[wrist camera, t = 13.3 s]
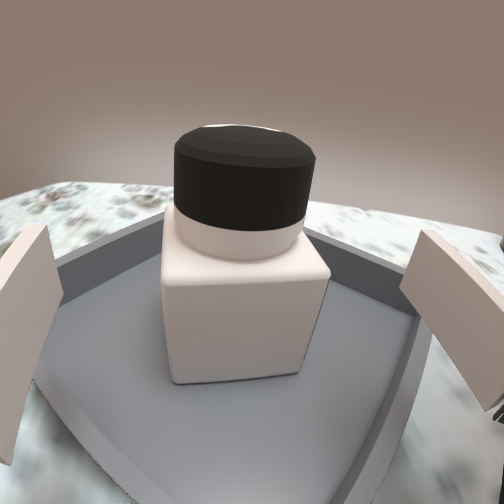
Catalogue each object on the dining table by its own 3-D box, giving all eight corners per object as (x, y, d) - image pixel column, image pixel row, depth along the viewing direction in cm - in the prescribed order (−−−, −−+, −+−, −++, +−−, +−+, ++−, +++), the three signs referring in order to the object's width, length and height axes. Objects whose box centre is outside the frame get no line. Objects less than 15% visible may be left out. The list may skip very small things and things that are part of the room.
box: (421, 324, 23) (441, 284, 21) (280, 595, 7) (304, 604, 4) (210, 229, 32) (212, 192, 30) (9, 338, 16) (-12, 293, 14)
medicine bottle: (301, 374, 17) (363, 160, 11) (172, 386, 15) (154, 148, 9) (270, 295, 23) (297, 123, 16) (169, 299, 21) (165, 117, 15)
